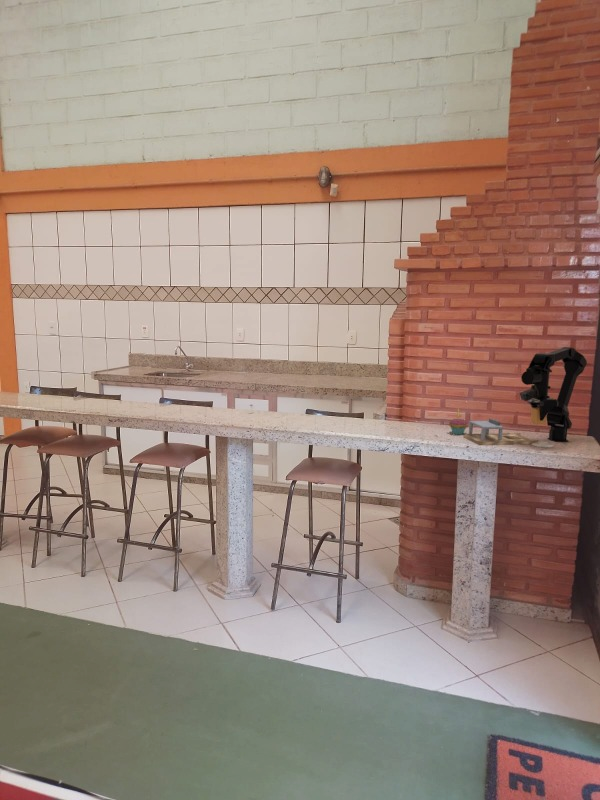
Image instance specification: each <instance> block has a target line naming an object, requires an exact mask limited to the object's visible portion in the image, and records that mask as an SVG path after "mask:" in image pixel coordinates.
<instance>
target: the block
mask: <svg viewBox="0 0 600 800" xmlns="http://www.w3.org/2000/svg"><path fill="white" fill-rule="evenodd" d="M530 424H533V425H546V424H547V415H546V416H545V418H544V420H543V421H540V410H539V408H532V407H531V411H530Z"/></svg>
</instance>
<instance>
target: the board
mask: <svg viewBox="0 0 600 800" xmlns="http://www.w3.org/2000/svg"><path fill="white" fill-rule="evenodd" d="M521 433H522V432H521ZM521 433H515V432H514V433H509V432H508V433H503V432H502V440H498V434H499V433H489V435H486V434H485V441H482V440H481V433H472V435H469V433H463V434H462V435H463V436H462V437H463V438H465V439H466V440H468V441H470V442H472V443H474V444H476V445H478V446H523V445H525V446H528V445H529V446H532V445H531V443H539V440H537V439H533V438H531V437H528V436H526V435H523V434H521Z"/></svg>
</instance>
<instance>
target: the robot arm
mask: <svg viewBox="0 0 600 800" xmlns="http://www.w3.org/2000/svg"><path fill="white" fill-rule="evenodd" d="M558 361H562V362H563V364H564V365H563V369H564V371H565V374H564V378H563V380H562V384H561V387H560V389H559V392H558V396H557V399H556V398H553V397H550V395H549V389H551V386H550V385H549V383H550V373H553V371H552V369H551V368H552V367H553V366H554V365H555V364H556V363H557V362H558ZM587 363H588V362H587V359H586V358H585V356H584V355H583V354H581V353H580V352H579V351H577V350H576V348H574V347H569V346H564V347H561V348H560V349H557V350H556V349H555V350H553V351H549V352H540V353H539V352H537V353H535V354H534V356H533V358H532V359H531V361H530V363H529V365H528V367H527V368H526V371H524V372H522V375H521V378H520V379H521V382H522V383H523V384H524V385H526V386H529V385H531V386H530V388H529V389H526V390H522V391H520V392H519V395H520V396H519V397H520V400H521V401H524V402H527V404H529V405H530V407H531V408H539V410H540V421H543V420H544V418H545V416H546V424H547V426H548V427H550V429H549V431H548V437H547V440H548V441H553V442H555V443H559V442H562V443H563V442H569V440H568V439H567V437H568V429H569V430H570V429H571V428H572V425H573V423H572V421H571V419H570V417H569V416H570V411H569V408H568V405H569V404H570V400H571V397H572V394H573V392H574V391H573V390H574V388H575V384H576V382H577V379H578V377H579V376H580V375H581V374H582V373H583V372H584V370H585V368H586V366H587Z"/></svg>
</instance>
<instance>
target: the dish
mask: <svg viewBox="0 0 600 800" xmlns="http://www.w3.org/2000/svg"><path fill="white" fill-rule="evenodd" d="M538 441H539V440H538ZM530 446H534V447H538V448H553V447H554V446H555V444H554V443H552V442H547V441H539V443H531V445H530Z"/></svg>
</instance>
